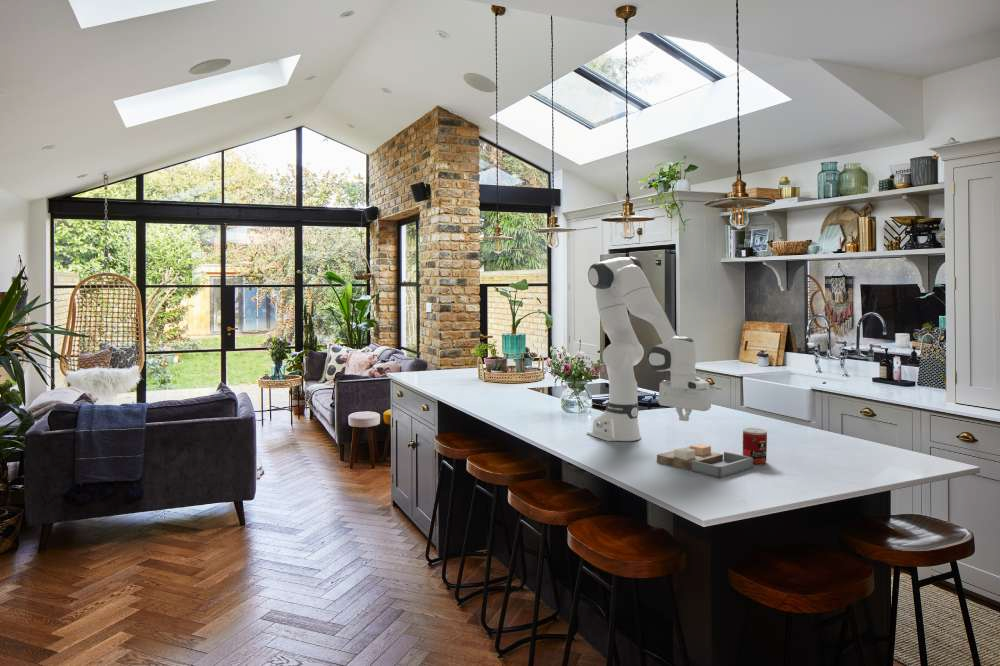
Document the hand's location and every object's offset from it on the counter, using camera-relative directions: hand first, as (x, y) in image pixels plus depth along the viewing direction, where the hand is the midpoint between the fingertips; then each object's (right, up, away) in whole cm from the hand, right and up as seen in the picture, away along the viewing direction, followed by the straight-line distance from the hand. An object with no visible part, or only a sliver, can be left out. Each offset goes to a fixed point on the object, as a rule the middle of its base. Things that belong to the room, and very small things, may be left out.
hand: (684, 420), depth 233 cm
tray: (+8, -14, -17) cm, 23 cm away
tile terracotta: (+4, -11, -5) cm, 12 cm away
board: (0, -13, -7) cm, 15 cm away
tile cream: (-3, -11, -10) cm, 15 cm away
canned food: (+22, -14, -7) cm, 27 cm away
